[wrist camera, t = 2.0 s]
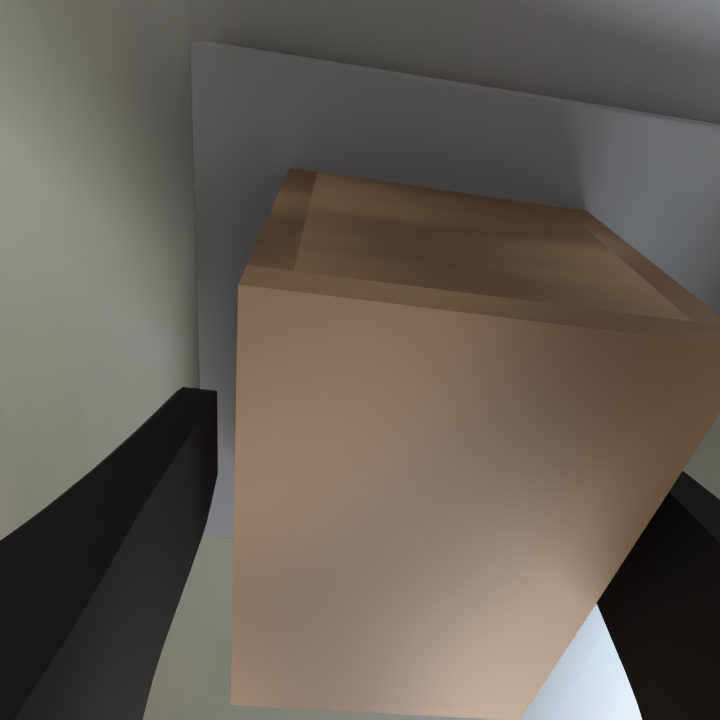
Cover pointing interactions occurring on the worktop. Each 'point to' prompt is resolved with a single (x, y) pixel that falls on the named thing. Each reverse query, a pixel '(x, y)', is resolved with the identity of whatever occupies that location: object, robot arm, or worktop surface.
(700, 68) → the worktop surface
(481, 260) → the walnut box
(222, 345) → the board
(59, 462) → the worktop surface
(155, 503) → the robot arm
